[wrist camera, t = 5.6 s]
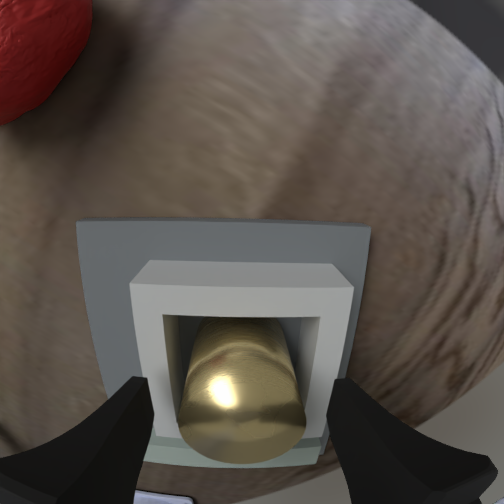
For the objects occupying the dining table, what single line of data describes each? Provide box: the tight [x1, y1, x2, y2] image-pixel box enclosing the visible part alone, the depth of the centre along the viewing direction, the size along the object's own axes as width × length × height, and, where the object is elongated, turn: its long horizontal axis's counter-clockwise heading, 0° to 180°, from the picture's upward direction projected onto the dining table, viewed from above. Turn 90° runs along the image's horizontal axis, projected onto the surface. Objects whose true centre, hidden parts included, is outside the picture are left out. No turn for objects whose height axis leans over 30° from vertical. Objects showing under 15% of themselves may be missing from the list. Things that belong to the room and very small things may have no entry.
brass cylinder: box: [178, 316, 307, 464], centre depth 12 cm, size 4×4×6 cm
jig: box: [76, 217, 371, 468], centre depth 15 cm, size 16×14×4 cm
